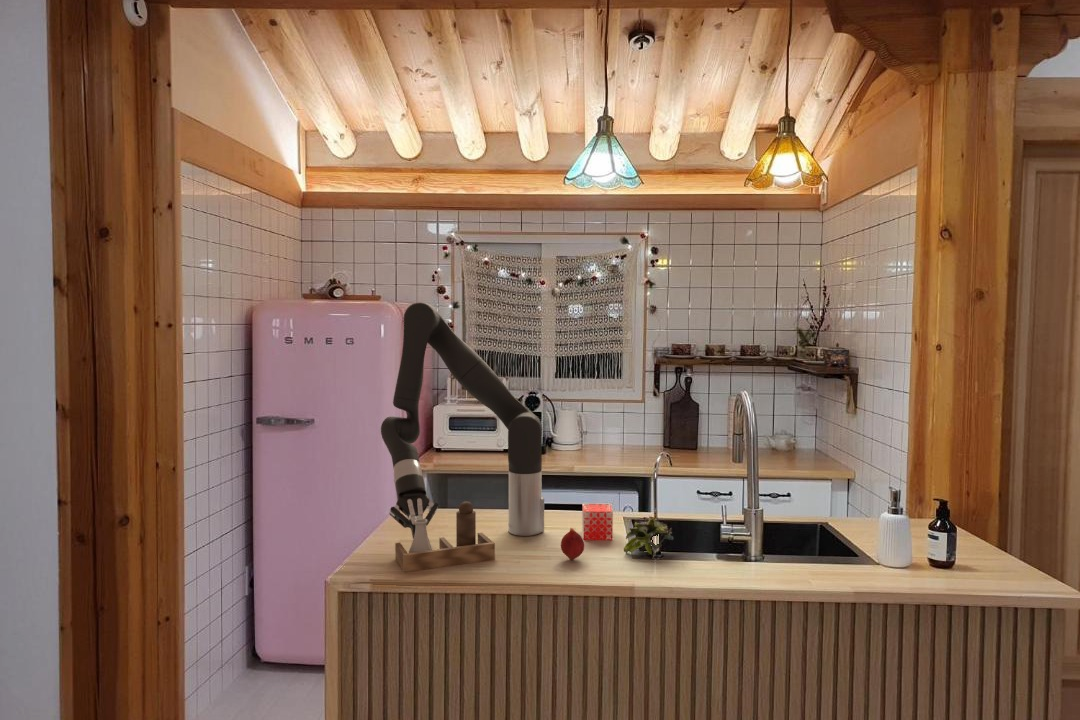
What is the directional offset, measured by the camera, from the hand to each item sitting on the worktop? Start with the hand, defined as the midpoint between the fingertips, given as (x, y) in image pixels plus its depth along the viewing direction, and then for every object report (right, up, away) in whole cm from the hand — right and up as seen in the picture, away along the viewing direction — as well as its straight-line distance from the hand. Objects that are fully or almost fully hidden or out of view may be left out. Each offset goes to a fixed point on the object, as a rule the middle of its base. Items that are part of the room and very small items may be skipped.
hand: (419, 540), depth 173 cm
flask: (+1, -5, -2) cm, 5 cm away
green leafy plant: (+58, -5, +4) cm, 58 cm away
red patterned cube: (+46, -4, +19) cm, 50 cm away
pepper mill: (+11, -4, +2) cm, 12 cm away
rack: (+6, -5, 0) cm, 8 cm away
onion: (+38, -5, -1) cm, 38 cm away
